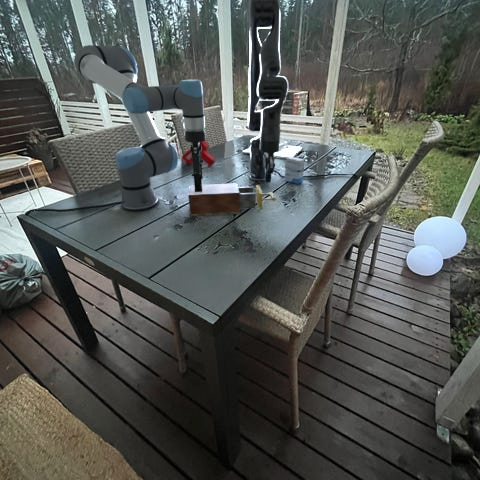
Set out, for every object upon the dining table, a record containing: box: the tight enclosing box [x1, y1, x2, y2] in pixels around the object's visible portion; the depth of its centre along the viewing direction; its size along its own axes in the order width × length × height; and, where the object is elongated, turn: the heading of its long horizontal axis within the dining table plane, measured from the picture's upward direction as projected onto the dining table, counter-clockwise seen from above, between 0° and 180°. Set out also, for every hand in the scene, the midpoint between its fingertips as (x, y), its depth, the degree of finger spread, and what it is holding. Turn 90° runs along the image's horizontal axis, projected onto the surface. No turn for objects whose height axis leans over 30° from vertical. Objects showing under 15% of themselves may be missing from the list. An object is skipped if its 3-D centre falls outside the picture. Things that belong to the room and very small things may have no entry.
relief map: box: [242, 141, 304, 160], centre depth 192 cm, size 27×35×5 cm
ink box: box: [284, 156, 306, 185], centre depth 140 cm, size 8×5×12 cm, turn 47°
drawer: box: [238, 184, 277, 211], centre depth 115 cm, size 25×9×7 cm, turn 96°
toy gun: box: [181, 140, 216, 167], centre depth 167 cm, size 18×4×15 cm
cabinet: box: [187, 182, 241, 217], centre depth 114 cm, size 20×10×9 cm, turn 96°
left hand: (199, 184), depth 110 cm, fingers open, 13 cm apart
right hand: (267, 181), depth 112 cm, fingers closed
